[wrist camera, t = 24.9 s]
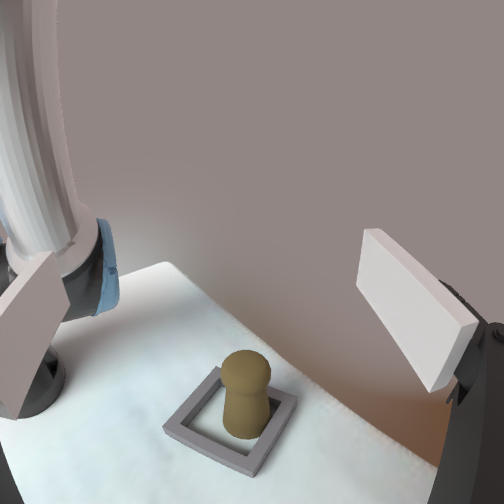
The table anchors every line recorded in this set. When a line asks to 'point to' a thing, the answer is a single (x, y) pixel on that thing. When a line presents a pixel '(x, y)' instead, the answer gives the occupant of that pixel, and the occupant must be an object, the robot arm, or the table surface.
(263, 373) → the cork
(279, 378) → the table surface
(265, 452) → the gray square frame
